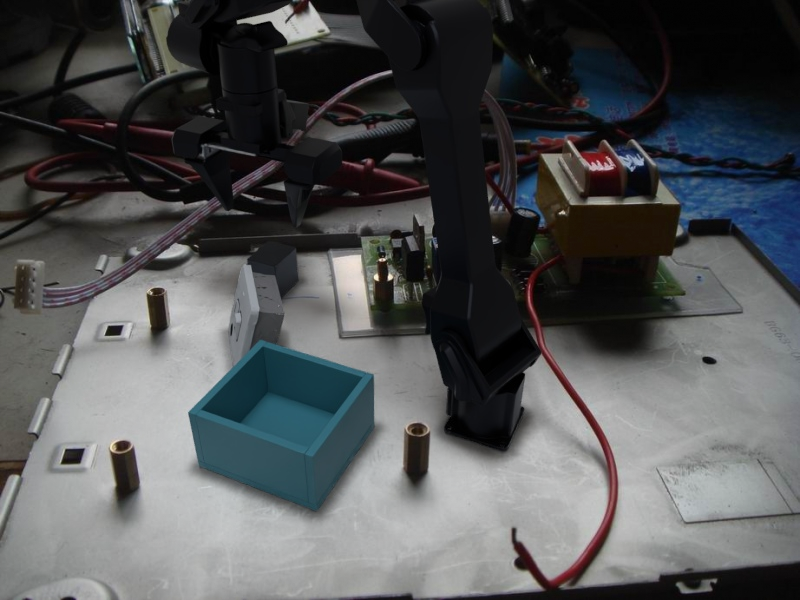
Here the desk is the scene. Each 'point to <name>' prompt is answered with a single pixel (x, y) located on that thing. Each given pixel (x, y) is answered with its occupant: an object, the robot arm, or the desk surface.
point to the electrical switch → (254, 312)
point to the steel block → (276, 264)
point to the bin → (284, 422)
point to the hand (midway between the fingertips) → (262, 217)
